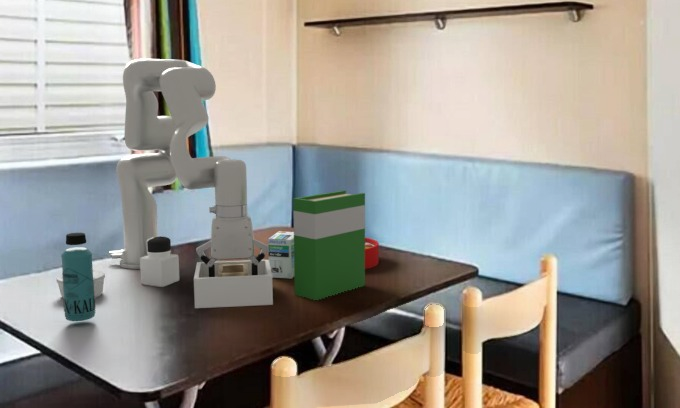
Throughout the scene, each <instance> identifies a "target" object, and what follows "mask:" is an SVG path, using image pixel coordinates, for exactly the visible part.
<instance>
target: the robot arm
mask: <svg viewBox="0 0 680 408" xmlns="http://www.w3.org/2000/svg"><path fill="white" fill-rule="evenodd" d="M122 83H123V84H122V85H123V90H124V93H125V94H124V95H125V114H124V115H125V117H124V134H123V135H124V143H125V145H126V147H127V148H128V149H129V150H131V151H134V152H149V151H158V152H151V153H137V154H136V153H135V154H130V155H125V156H124V157H122V158H121V159H119V161H118V162H117V164H116V169H115V170H116V176H117V177H116V178H117V182H118V185H119V190H120V197H121V210H122V211H121V212H122V225H123V245H124V248H123V249H120V250H109V252H108V257H109V258H111V259H112V260H113V259H114V260H115V259H120V260H119V267H122V268H124V269H129V270H130V269H131V270H140V258H141V257H144V256H147V255H148V254H147V240H148V239H150V238H152V237H159V228H158V227H159V226H158V206H157V200H156V198H155V196H154V195H153V193H151V191H150V190H149V188H153V187H161V186H167V185H168V186H170V185H172V184H174V183H175V182H176V181H177V179H178V181H179V183H180V184H181V185H182V186H183V187H184V188H185V189H188V190H203V189H209V188H213V189H214V199H215V202H214V203H215V205H214V206H212V207H211V206H210V207H209V214H214V215H215V216H213V218H212V221H211V230H210V240H209V241H206V242H205V243H203V244H201V245H200V246H198V247H196V249H195V252H196V253H197V255H198V257H199V258H200V261H201V262H204V263H205V264H206V265H207V266H208V267H209V277H215V265H214V263H215V262H217V261H227V260H228V261H234V260H251V261H252V263H251V265H252V275H258V264H259V262H260V261H261V260H264V258H265V257H266V254H267V253H268V249H269V247H268V244H266V243H264V242H262V241H259V240H257V239H256V238H254V229H253V223H252V222H253V221H252V217H251V216H250V215H248V187H247V186H248V185H247V181H248V180H247V164H246V162H244V161H243V160H241V159H235V158H233V159H232V158H230V157H228V156H224V155H222V156H221V155H220V156H219V155H218V156H203V157H202V156H201V157H194V158H193V157H192V156H191V155H190V152H189V149H188V146H187V138H189V137H190V136H193V135H194V134H196V133H198V132H199V131H201V130H203V129H204V128H205V127H206V126H207V124H208V122H209V114H208V112H207V110H206V107H205V105H204V103H203V101H207V100H210V99H212V98H213V97H214V96H215V93H216V89H217V87H216V80H215V78H214V75H213V74H212V72H210V71H209V69H208V68H205V67H203V66H201V65H198V64H195V63H193V62H191V61H188V60H183V59H168V58H167V59H163V58H161V59H160V58H139V59H134V60H130V61H129V62H128V63H126V64H125V67H124V69H123V73H122ZM154 92H161V95H162V96H163V98H164V100H165V101H164V102H165V104H166V106H167V108H168V109H167V110H168V111H169V113H170V116H169V115H158V114H159V113H158V111H159V102H158V98H157V96H156V94H155V93H154ZM255 247H257V248H260V249H261V250H260V252H259V253H258V254H257V256H256V255H255ZM209 248H210V254H211V256H210V257H208V256H207V255H206V254H205V253H204V251H206V250H207V249H209Z"/></svg>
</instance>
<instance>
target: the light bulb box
mask: <svg viewBox="0 0 680 408" xmlns="http://www.w3.org/2000/svg"><path fill="white" fill-rule="evenodd" d="M267 245H268V247H269V249H268V251H267V253H268V260H269V263H270V267H271V272H272V279H274V278H275V279H276V278H277V279H290V280H291V279H294V231H282V230H279V231H277V232H276V233H274V234H273V235H272V236H270V237H269V238H268V240H267Z"/></svg>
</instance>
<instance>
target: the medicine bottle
mask: <svg viewBox="0 0 680 408" xmlns="http://www.w3.org/2000/svg"><path fill="white" fill-rule="evenodd" d="M171 242H172V241H171V238H170V237H167V236H160V235H159V236H158V237H152V238H150V239H148V240H147V254H148V255H147V256H144V257H141V258H140V269H139V271H140V284H141V285H144V286H151V287H156V288H157V287H159V288H164V287H167V286H170V285H171V284H174V283H177V282H179V281H180V264H179V263H180V262H179V255H178V254H175V253H172V247H171V246H172V245H171V244H172V243H171Z"/></svg>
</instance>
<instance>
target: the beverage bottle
mask: <svg viewBox="0 0 680 408" xmlns="http://www.w3.org/2000/svg"><path fill="white" fill-rule="evenodd" d="M86 243H87V237H86V233H85V232H70V233H67V234H66V235H65V245H68V246H77V247H70V248H66V249H65V250H64V251H63V252H62V253H61V254H60V255H61V256H60V257H61V266H62V267H61V268H62V269H61V270H62V272H61V274H62V275H63V286H62V287H63V291H64V298H63V301H62V302H63V312H64V318H65V320H66V321H70V322H83V321H88V320H91V319H93V318H94V317H95V316H96V304H95V303H96V300H95V299H96V298H94V297H95V296H94V289H95V288H94V281H93V270H94V269H93V268H94V267H93V253H92V251H91V250H90V249H88V248H86V247H81V246H79V245H83V244H84V245H85V244H86Z"/></svg>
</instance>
